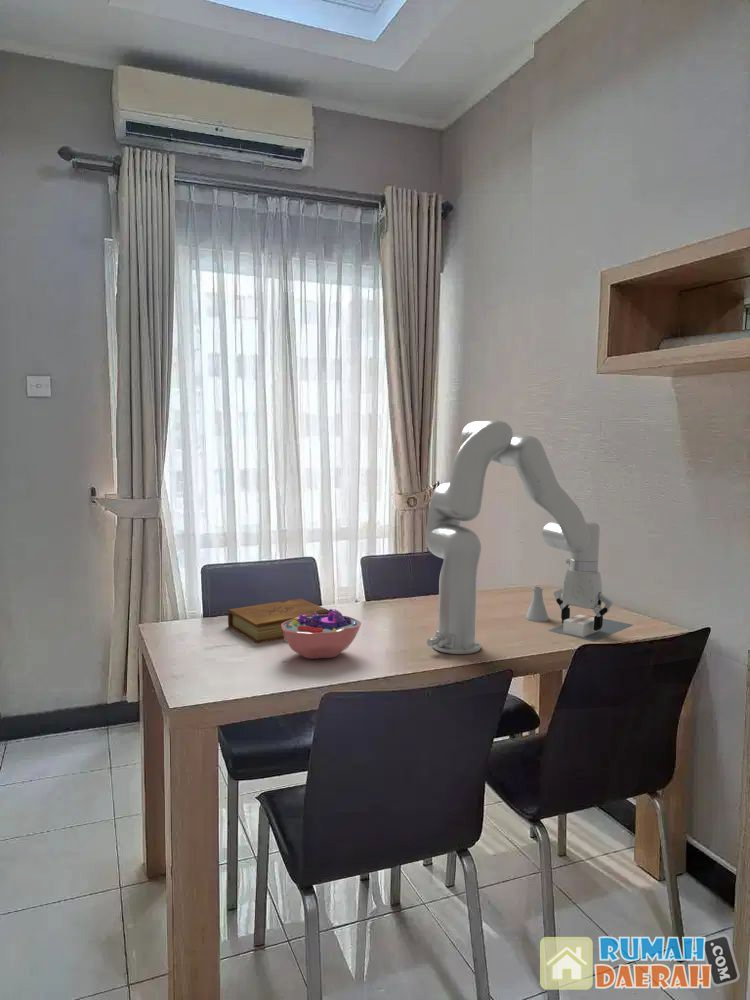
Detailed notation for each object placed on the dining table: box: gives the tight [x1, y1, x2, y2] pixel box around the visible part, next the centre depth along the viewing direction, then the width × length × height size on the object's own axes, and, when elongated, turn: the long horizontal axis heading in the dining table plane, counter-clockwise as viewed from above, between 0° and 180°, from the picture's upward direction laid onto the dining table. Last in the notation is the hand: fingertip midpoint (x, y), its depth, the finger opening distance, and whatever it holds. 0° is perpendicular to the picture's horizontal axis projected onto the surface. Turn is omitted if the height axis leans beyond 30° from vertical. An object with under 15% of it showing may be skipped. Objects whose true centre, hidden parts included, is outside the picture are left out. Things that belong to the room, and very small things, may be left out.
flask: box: [524, 586, 550, 623], centre depth 205 cm, size 7×7×10 cm
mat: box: [547, 615, 633, 643], centre depth 196 cm, size 24×14×1 cm, turn 135°
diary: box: [227, 597, 330, 644], centre depth 193 cm, size 23×19×6 cm
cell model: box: [281, 608, 362, 660], centre depth 170 cm, size 17×20×11 cm
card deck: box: [562, 614, 599, 637], centre depth 192 cm, size 9×6×4 cm, turn 135°
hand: (581, 626), depth 192 cm, fingers open, 9 cm apart
